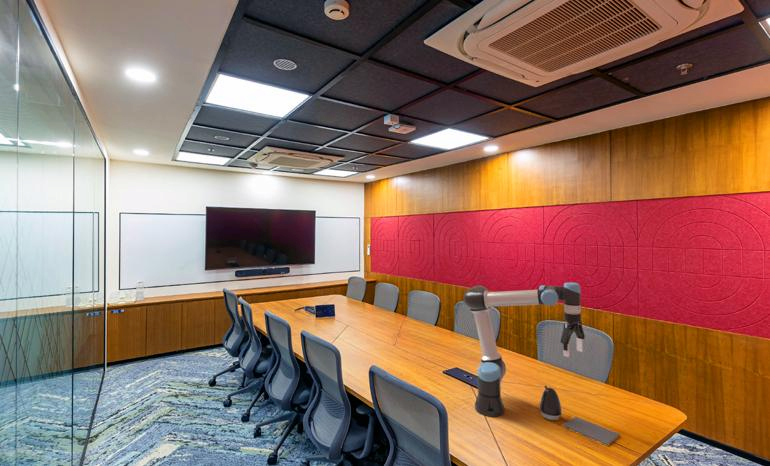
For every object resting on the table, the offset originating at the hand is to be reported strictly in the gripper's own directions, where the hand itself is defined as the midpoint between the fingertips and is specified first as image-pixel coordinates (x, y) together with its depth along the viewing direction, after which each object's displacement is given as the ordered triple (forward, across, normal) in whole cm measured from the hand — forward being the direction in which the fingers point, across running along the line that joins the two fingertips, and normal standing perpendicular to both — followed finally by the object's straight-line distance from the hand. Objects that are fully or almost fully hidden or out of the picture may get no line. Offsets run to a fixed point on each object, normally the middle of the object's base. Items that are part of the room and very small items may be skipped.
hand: (573, 353), depth 183 cm
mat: (+32, -9, -12) cm, 35 cm away
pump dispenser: (+32, -12, +6) cm, 35 cm away
